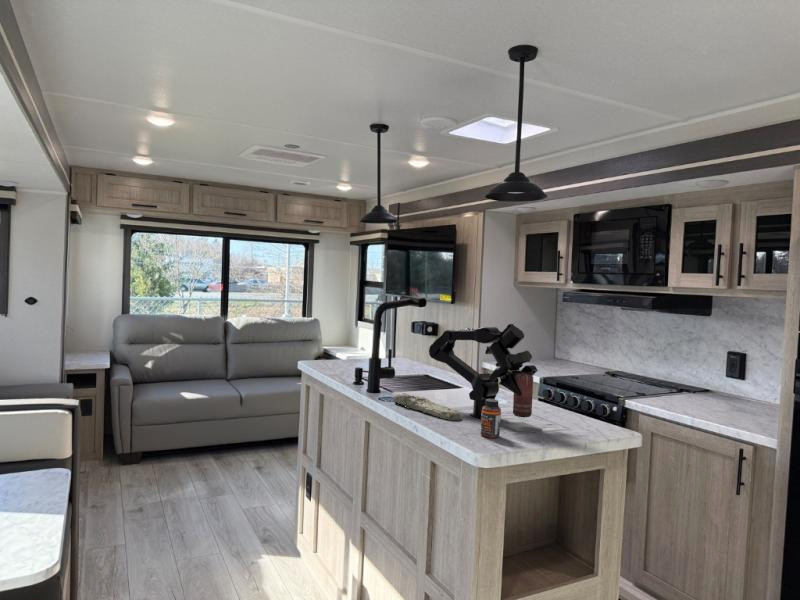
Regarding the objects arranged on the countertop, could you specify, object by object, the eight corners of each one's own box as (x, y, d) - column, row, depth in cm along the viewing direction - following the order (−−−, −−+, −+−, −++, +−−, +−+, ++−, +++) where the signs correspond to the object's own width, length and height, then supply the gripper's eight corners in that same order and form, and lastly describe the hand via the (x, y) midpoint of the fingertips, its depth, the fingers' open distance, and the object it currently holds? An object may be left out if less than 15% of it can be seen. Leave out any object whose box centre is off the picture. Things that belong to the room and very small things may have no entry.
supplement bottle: (476, 436, 177) (478, 399, 177) (485, 432, 182) (487, 397, 182) (494, 439, 174) (496, 402, 174) (502, 436, 179) (504, 400, 179)
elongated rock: (445, 426, 194) (466, 425, 200) (447, 411, 194) (468, 410, 200) (385, 401, 221) (405, 400, 228) (387, 388, 221) (407, 387, 227)
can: (518, 418, 187) (520, 376, 186) (509, 413, 193) (511, 372, 192) (535, 417, 189) (537, 375, 188) (525, 412, 195) (527, 371, 194)
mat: (499, 424, 193) (499, 423, 193) (522, 422, 198) (523, 421, 198) (517, 432, 184) (517, 431, 184) (542, 430, 189) (542, 428, 189)
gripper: (497, 343, 187) (521, 382, 179) (535, 342, 199) (559, 378, 190) (479, 363, 194) (501, 402, 185) (516, 361, 205) (538, 397, 197)
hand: (526, 394), depth 189 cm, fingers closed on can, 5 cm apart
